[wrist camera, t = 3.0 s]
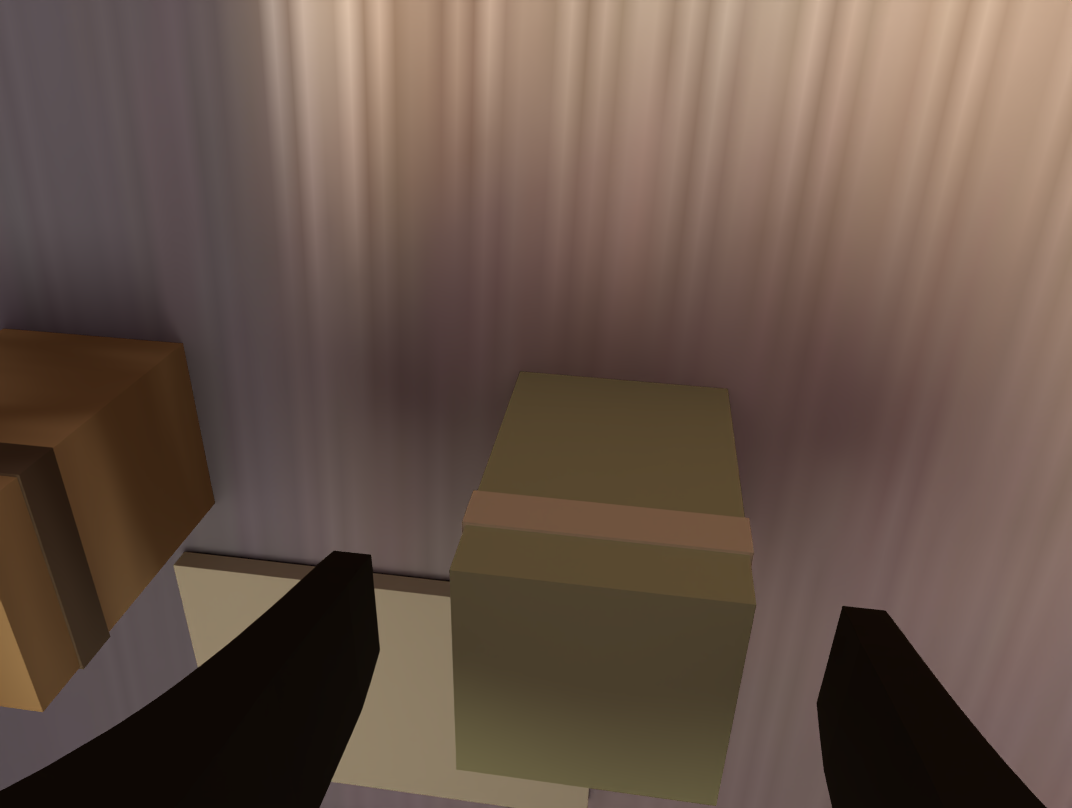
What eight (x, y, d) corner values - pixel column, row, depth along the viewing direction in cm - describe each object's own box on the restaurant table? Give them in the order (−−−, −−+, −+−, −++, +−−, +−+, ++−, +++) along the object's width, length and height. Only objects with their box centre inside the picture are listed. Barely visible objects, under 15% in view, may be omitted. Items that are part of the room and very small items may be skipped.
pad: (604, 599, 19) (602, 614, 18) (588, 800, 22) (586, 817, 22) (184, 551, 20) (173, 565, 19) (229, 750, 23) (221, 766, 23)
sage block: (731, 386, 16) (760, 602, 11) (704, 556, 18) (718, 808, 13) (518, 368, 16) (445, 566, 11) (515, 535, 18) (452, 771, 13)
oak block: (185, 341, 17) (-30, 513, 12) (217, 504, 19) (46, 714, 14) (1, 326, 17) (-284, 486, 12) (51, 487, 19) (-175, 684, 14)
